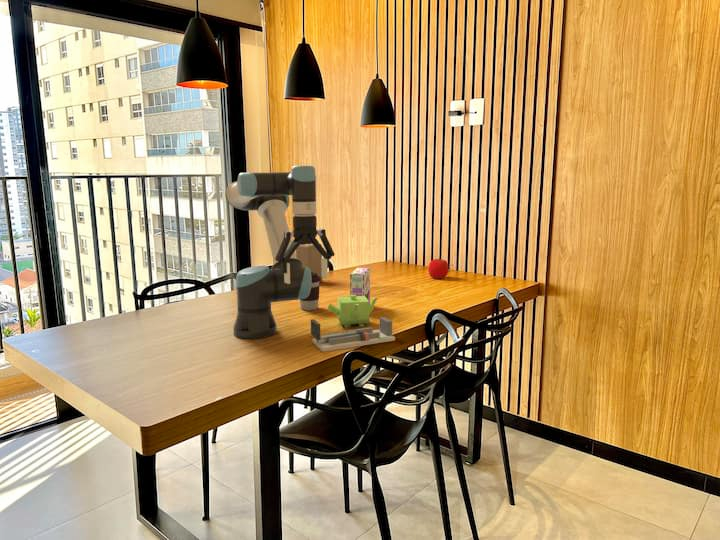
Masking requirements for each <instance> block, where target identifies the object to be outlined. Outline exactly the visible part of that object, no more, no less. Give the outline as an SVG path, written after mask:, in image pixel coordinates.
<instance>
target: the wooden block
mask: <svg viewBox="0 0 720 540" xmlns="http://www.w3.org/2000/svg"><path fill="white" fill-rule="evenodd" d="M320 245H321V246H322V247H323V244H322V243H320ZM295 253H296V257H297V258H298V259H300V260H301V261H302V264H303V267H305V266H306V267H309V268H310V271H311V272H315V273H317V275H318V276H320V277H321V281H319V283H320V282H323V278H322V274H321V258H323V256H322V255H321V254H320V252H319V251H318V250H317V249H316V248H315V246H314V245H313V244H312V243H311V244H305V245H301V244H300V246H298V247H297V249H296V250H295Z"/></svg>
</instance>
